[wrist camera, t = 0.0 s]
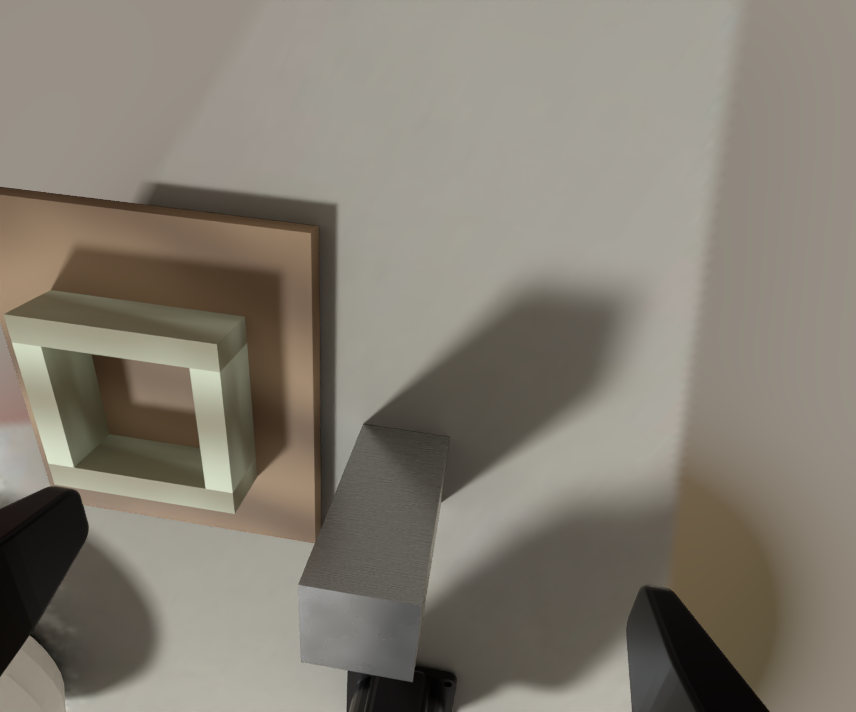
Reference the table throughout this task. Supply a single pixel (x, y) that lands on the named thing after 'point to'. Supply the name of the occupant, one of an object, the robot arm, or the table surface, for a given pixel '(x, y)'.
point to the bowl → (32, 682)
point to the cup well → (168, 358)
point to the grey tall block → (375, 556)
